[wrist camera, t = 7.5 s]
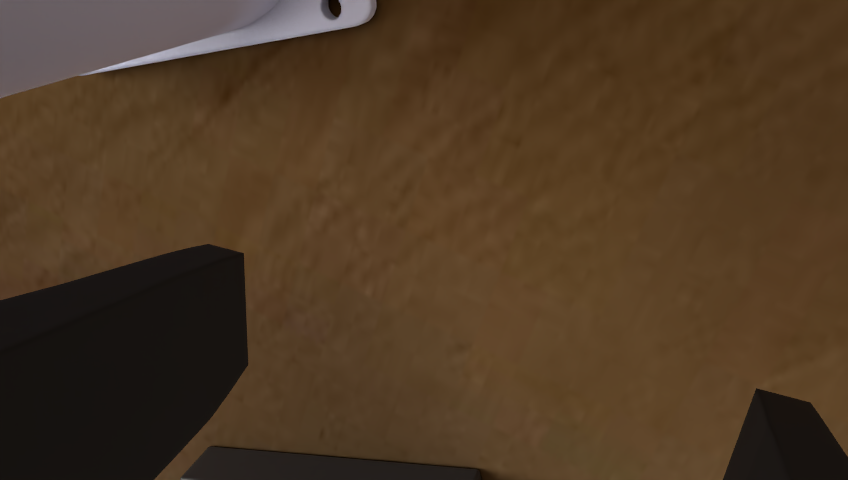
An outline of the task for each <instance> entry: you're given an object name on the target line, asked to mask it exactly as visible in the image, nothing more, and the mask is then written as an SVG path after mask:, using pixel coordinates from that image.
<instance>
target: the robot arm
mask: <svg viewBox="0 0 848 480" xmlns="http://www.w3.org/2000/svg"><path fill="white" fill-rule="evenodd" d="M328 1H329V0H0V98H2V97H6V96H9V95H13V94H16V93H20V92H23V91H27V90H30V89H33V88H37V87H40V86H44V85H47V84H51V83H54V82H58V81H61V80H65V79H68V78H71V77H75V76H78V75H79V76H83V75H89V74H94V73H100V72H106V71H111V70H117V69H122V68H128V67H133V66H139V65H144V64H150V63H156V62H161V61H167V60H172V59H178V58H183V57H189V56H194V55H200V54H206V53H211V52H217V51H222V50H228V49H233V48H239V47H245V46H250V45H256V44H261V43H267V42H272V41H278V40H283V39H289V38H295V37H300V36H306V35H311V34H317V33H322V32H328V31H333V30H339V29H345V28H350V27H356V26H359V25H361V24H364V23H366V22H368V21H369V20H370V19H371V18H372V17H373V16H374V14H375V11H376V8H377V4H376V0H339V2H340V4H341V13H340V15H339V17H336V16H334V15H333V14H332V13H331V12H330V10H329V8H328ZM247 366H248V349H247V325H246V300H245V276H244V253H241V252H237V251H233V250H229V249H225V248H222V247H218V246H214V245H210V244H207V245H201V246H196V247H191V248H187V249H183V250H179V251H175V252H171V253H167V254H163V255H160V256H156V257H153V258H149V259H146V260H142V261H139V262H136V263H132V264H129V265H125V266H122V267H119V268H115V269H112V270H108V271H105V272H102V273H98V274H95V275H91V276H88V277H85V278H81V279H78V280H74V281H71V282H68V283H64V284H61V285H57V286H53V287H49V288H46V289H42V290H38V291H34V292H30V293H27V294H23V295H19V296H15V297H12V298H8V299H4V300H0V480H154V479H155V478H156V477H157V476H158V475H159V474H160V473H161V471H162V470H163V469H164V468H165V467H166V466H167V465H168V464H169V463H170V462H171V461H172V460H173V459H174V458H175V457H176V455H177V454H178V453H179V452H180V451H181V450H182V449H183V448H184V447H185V446H186V445H187V444H188V442H189V441H190V440H191V439H192V438H193V437H194V436H195V435H196V434H197V433H198V432H199V430H200V429H201V428H202V427H203V426H204V425H205V424H206V423H207V422H208V420H209V419H210V418H211V417H212V416H213V414H214V413H215V412H216V410H217V409H218V407H219V406H220V405H221V403H222V402H223V401H224V399H225V398H226V397H227V395H228V394H229V392H230V391H231V389H232V388H233V386H234V385H235V383H236V382H237V380H238V379H239V377H240V376H241V374H242V373H243V372H244V370H245V369H246V367H247ZM723 480H848V457H847V455H846V454H845V453H844V451H843V450H842V448H841V447H840V445H839V444H838V442H837V441H836V439H835V438H834V436H833V435H832V433H831V432H830V430H829V429H828V427H827V426H826V424H825V423H824V421H823V420H822V418H821V417H820V415H819V414H818V412H817V411H816V410H815V408H814V407H813V405H812V404H811V403H810V402H806V401H802V400H798V399H795V398H791V397H787V396H783V395H779V394H776V393H772V392H768V391H764V390H760V389H757V388H756V391H755V394H754V396H753V399H752V402H751V404H750V407H749V410H748V413H747V415H746V418H745V421H744V424H743V426H742V429H741V432H740V434H739V437H738V440H737V443H736V445H735V448H734V451H733V454H732V456H731V459H730V462H729V465H728V467H727V470H726V473H725V475H724V478H723Z"/></svg>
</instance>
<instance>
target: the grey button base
mask: <svg viewBox="0 0 848 480" xmlns="http://www.w3.org/2000/svg"><path fill="white" fill-rule="evenodd" d="M181 480H481V475H480V471H479V470H477V469H467V468H455V467H444V466H432V465H421V464H409V463H397V462H386V461H374V460H363V459H351V458H339V457H328V456H316V455H305V454H293V453H281V452H270V451H258V450H247V449H235V448H223V447H212V446H211V447H208V448H207V450H206V451H205V452H204V453H203V454H202V455H201V456H200V457H199V458H198V459H197V460H196V462H195V463H194V464H193V465H192V466H191V467H190V468H189V469H188V470H187V471H186V473H185V474H184V475H183V476H182V477H181Z"/></svg>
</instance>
